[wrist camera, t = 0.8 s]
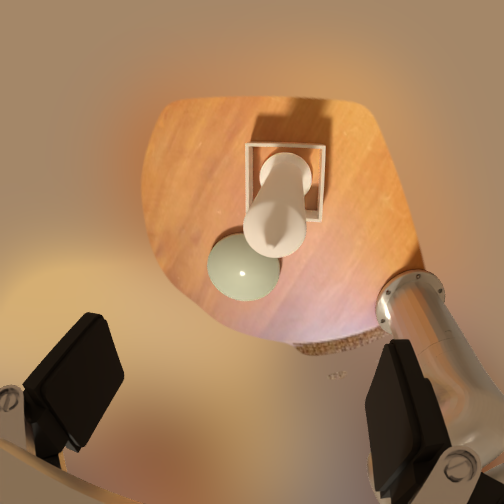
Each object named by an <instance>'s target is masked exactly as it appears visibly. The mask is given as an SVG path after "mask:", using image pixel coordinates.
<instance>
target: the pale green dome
mask: <svg viewBox="0 0 504 504" xmlns="http://www.w3.org/2000/svg"><path fill="white" fill-rule="evenodd" d="M207 269H208V274H209V277H210V279H211V281H212V283H213V284H214V286H215V287H216V288H217V289H218V290H219V291H220V292H221V293H223V294H224V295H226V296H228V297H230V298H232V299H235V300H240V301H253V300H257V299H260V298H262V297H264V296H266V295H267V294H269V293H270V292H271V291H272V290H273V289H274V287H275V286H276V284H277V282H278V279H279V274H280V262H279V258H271V257H266V256H263V255H261V254H259V253H257V252H256V251H255V250H254V249H252V248H251V246H250V245H249V244H248V242H247V240H246V238H245V235H244V233H234V234H230V235H227V236H226V237H224V238H222V239H221V240H220V241H218V242H217V243H216V245H215V246H214V247H213V249H212V251H211V252H210V255H209V257H208V263H207Z"/></svg>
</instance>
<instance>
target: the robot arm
mask: <svg viewBox="0 0 504 504" xmlns="http://www.w3.org/2000/svg"><path fill="white" fill-rule="evenodd" d="M387 290H388V291H387ZM444 302H445V291H444V288H443V285H442V283H441V282H440V280H439V279H438V278H437V277H436V276H435V275H434V274H432V273H431V272H428V271H426V270H420V269H418V270H410V271H406V272H403V273H401V274H399V275H397V276H396V277H394V278H392V279H391V280H390V281H389V282H388V283H387V284H386V285H385V286H384V288H383V289H382V290H381V292H380V294H379V296H378V298H377V301H376V306H375V312H376V317H377V320H378V323H379V325H380V326H381V327H382V329H384V330H385V331H386V332H388V333H390V334H392V335H393V337H394V339H392V340H391V341H390V343H389V344H385V345H384V348H383V351H382V355H381V357H380V360H379V363H378V366H377V369H376V372H375V375H374V378H373V381H372V383H371V386H370V389H369V392H368V394H367V397H366V401H365V410H366V417H367V424H368V432H369V439H370V448H371V452H370V454H369V456H368V459H367V473H368V477H369V480H370V484H371V486H372V489H373V491H374V494H375V496H376V498H377V500H378V502H379V504H504V463H503V464H500V465H498V466H496V467H494V468H492V469H490V470H489V471H487V472H485V473H483V472H481V469H482V468H483V467H484V466H486V465H487V464H489V463H490V462H491V461H493V460H494V459H496V458H497V457H498V456H499V455H500V454H501V453H502V452H503V451H504V395H503V394H502V392H501V391H500V390H499V388H498V387H497V386H496V385H495V383H494V382H493V381H492V379H491V378H490V376H489V375H488V374H487V373H486V371H485V369H484V368H483V366H482V365H481V363H480V361H479V360H478V358H477V356H476V355H475V353H474V351H473V349H472V348H471V346H470V345H469V343H468V341H467V339H466V338H465V336H464V335H463V333H462V331H461V329H460V328H459V326H458V325H457V323H456V321H455V320H454V318H453V316H452V315H451V313H450V312H449V310H448V309H447V307H446V306H445V304H444ZM123 380H124V371H123V368H122V366H121V363H120V360H119V357H118V354H117V351H116V348H115V345H114V342H113V340H112V336H111V333H110V330H109V327H108V323H107V321H106V320H105V319H104V318H103V316H102V315H100V314H95V313H90V312H87V313H85V314H84V315H83V316H82V317H81V318H80V319H79V320H78V321H77V323H76V324H75V325H74V326H73V327H72V328H71V329H70V330H69V331H68V332H67V333H66V334H65V336H64V337H63V338H62V339H61V340H60V341H59V342H58V344H57V345H56V346H55V347H54V348H53V349H52V350H51V351H50V352H49V353H48V355H47V356H46V357H45V358H44V359H43V360H42V362H41V363H40V364H39V365H38V366H37V367H36V369H35V370H34V371H33V372H32V373H31V374H30V376H29V377H28V378H27V379H26V380H25V382H24V383H23V384H22V385H23V386H24V388H25V390H24V391H22V390H21V388H19V387H17V386H15V385H7V386H4V387H2V388H0V504H144V503H141V502H138V501H135V500H132V499H129V498H126V497H124V496H121V495H118V494H115V493H112V492H110V491H108V490H105V489H102V488H100V487H98V486H95V485H93V484H91V483H88V482H86V481H84V480H82V479H80V478H77V477H75V476H73V475H71V474H69V473H68V472H67V468H66V463H65V459H64V454H63V448H64V447H65V446H66V447H67V448H68V449H71V450H73V451H75V452H77V453H78V452H79V451H80V449H81V447H84V446H85V445H86V444H87V442H88V441H89V439H90V437H91V435H92V433H93V432H94V430H95V428H96V427H97V425H98V423H99V421H100V419H101V418H102V416H103V414H104V413H105V411H106V409H107V407H108V406H109V404H110V402H111V401H112V399H113V397H114V396H115V394H116V392H117V391H118V389H119V387H120V385H121V384H122V382H123Z"/></svg>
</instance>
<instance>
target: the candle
mask: <svg viewBox="0 0 504 504" xmlns="http://www.w3.org/2000/svg"><path fill="white" fill-rule="evenodd" d="M311 183H312V174H311V170H310V168H309V166H308V164H307V163H306V161H305V160H304V159H303V158H301V157H300V156H298V155H296V154H294V153H290V152H281V153H277V154H275V155H273V156H271V157H270V158H268V159H267V160H266V161H265V163H264V164H263V166H262V168H261V171H260V184H261V189H260V190H259V192H258V194H257V196H256V197H255V199H254V201H253V203H252V204H251V206H250V208H249V210H248V212H247V213H246V215H245V218H244V222H243V231H244V235H245V238H246V240H247V242H248V244H249V245H250V246H251V248H252V249H254V250H255V251H256V252H257V253H259V254H261V255H263V256H266V257H271V258H281V257H285V256H288V255H290V254H292V253H293V252H295V251H296V250H297V249H298V248H299V247H300V246H301V244H302V243H303V241H304V239H305V236H306V229H307V228H306V213H305V201H304V196H305V195H306V194H307V192H308V191H309V189H310V187H311Z"/></svg>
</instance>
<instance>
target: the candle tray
mask: <svg viewBox="0 0 504 504" xmlns="http://www.w3.org/2000/svg"><path fill="white" fill-rule="evenodd" d="M253 146H262V147H297V148H317V149H320V160H319V183H318V202H317V211H315V210H305V213H306V221H309V222H322V209H323V193H324V175H325V151H326V146H325V145H324V144H316V143H296V142H254V141H250V142H247V143H245V170H246V213H247V212H248V210H249V208H250V206H251V204H252V203H253Z"/></svg>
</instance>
